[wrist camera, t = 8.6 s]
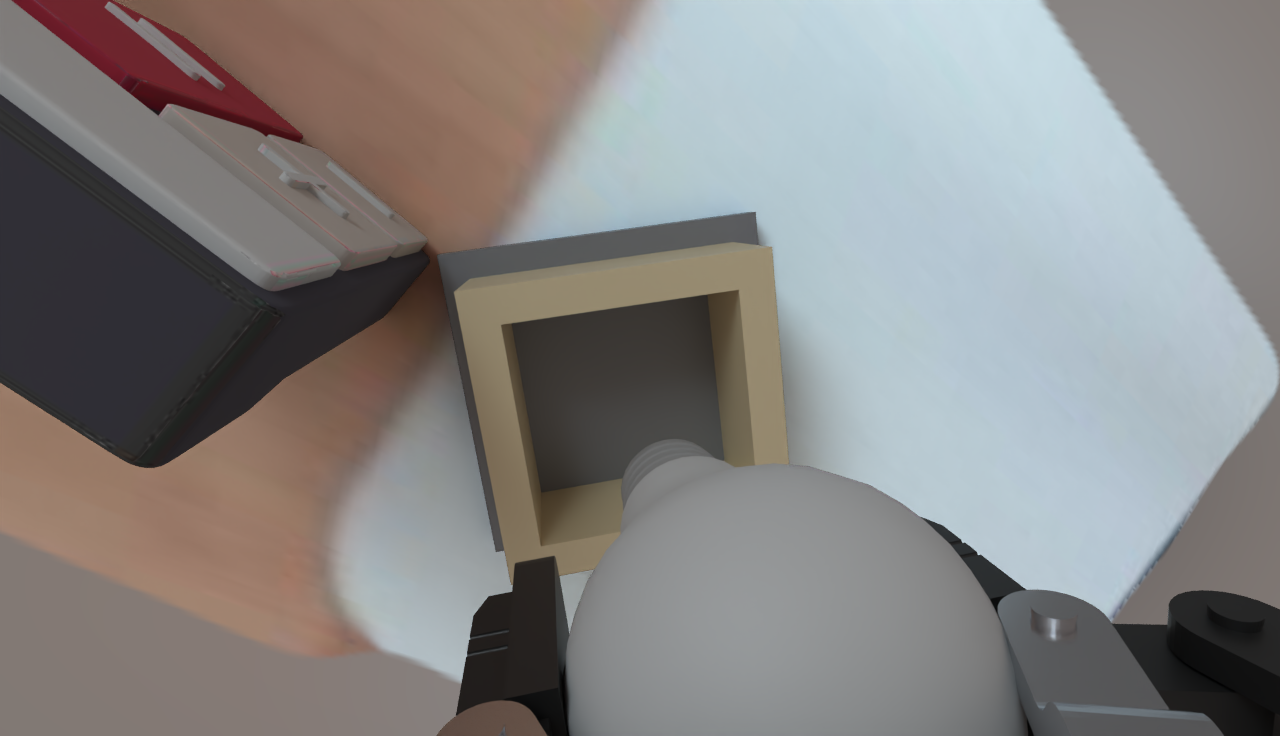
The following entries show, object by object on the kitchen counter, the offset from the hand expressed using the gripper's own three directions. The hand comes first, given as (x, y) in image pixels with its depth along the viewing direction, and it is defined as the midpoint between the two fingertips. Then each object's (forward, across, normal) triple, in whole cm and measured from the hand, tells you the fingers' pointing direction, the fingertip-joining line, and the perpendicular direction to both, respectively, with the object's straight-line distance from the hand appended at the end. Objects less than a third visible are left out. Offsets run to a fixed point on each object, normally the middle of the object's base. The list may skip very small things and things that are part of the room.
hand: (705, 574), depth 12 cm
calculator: (+15, +11, -9) cm, 21 cm away
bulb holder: (+15, 0, 0) cm, 15 cm away
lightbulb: (+5, 0, 0) cm, 5 cm away
